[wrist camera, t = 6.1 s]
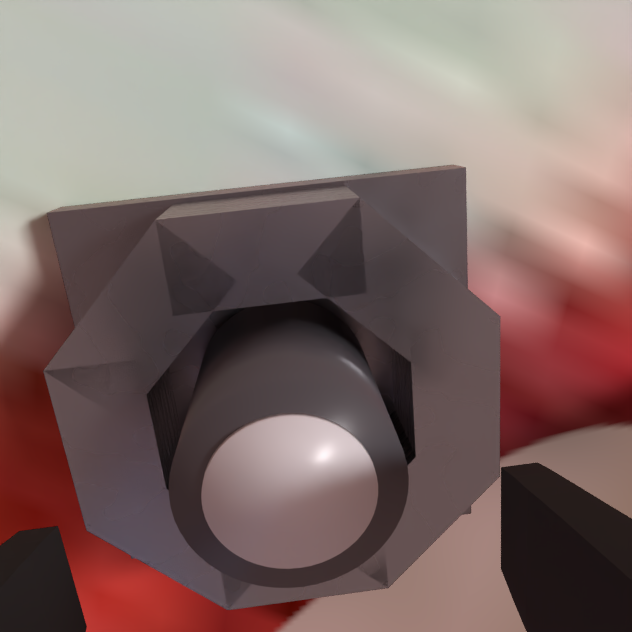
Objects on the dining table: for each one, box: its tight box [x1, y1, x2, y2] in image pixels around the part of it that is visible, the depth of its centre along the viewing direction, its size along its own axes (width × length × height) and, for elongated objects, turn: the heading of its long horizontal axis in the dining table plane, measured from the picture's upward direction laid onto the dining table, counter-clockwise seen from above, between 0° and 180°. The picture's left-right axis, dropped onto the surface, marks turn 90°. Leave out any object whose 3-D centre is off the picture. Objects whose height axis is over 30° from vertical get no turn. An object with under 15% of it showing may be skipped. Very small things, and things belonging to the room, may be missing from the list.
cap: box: [169, 301, 409, 588], centre depth 13 cm, size 4×4×5 cm
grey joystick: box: [43, 165, 500, 610], centre depth 15 cm, size 10×10×4 cm
